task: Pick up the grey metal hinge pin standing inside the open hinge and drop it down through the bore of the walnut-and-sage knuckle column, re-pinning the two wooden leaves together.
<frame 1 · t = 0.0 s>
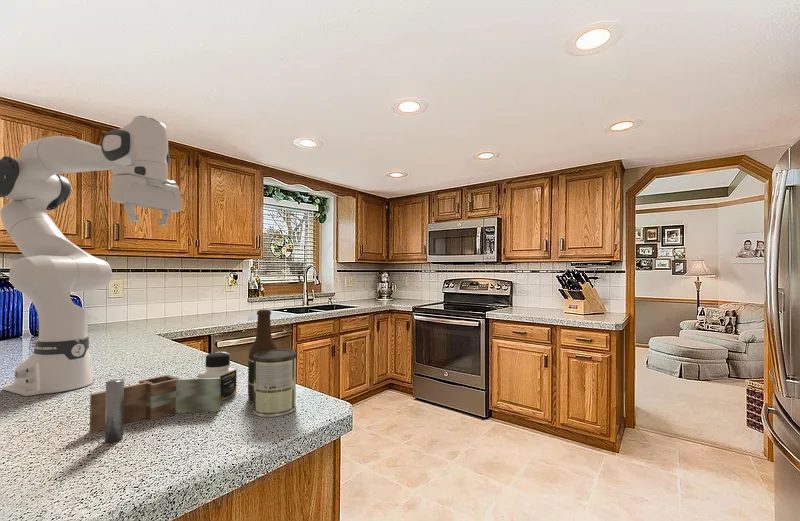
hand: (148, 223, 110), 48 cm above the countertop, fingers open, 8 cm apart
coffee can: (274, 410, 98), on the countertop
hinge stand: (159, 412, 96), on the countertop
medicine bottle: (217, 397, 108), on the countertop
hinge pin: (113, 440, 80), on the countertop
beer bottle: (263, 399, 107), on the countertop
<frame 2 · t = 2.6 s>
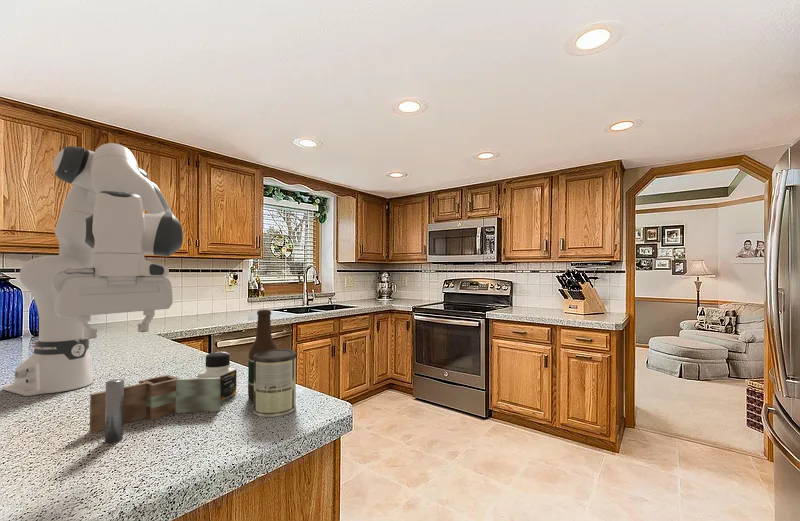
hand: (118, 335, 81), 21 cm above the countertop, fingers open, 8 cm apart
nothing on the countertop moved.
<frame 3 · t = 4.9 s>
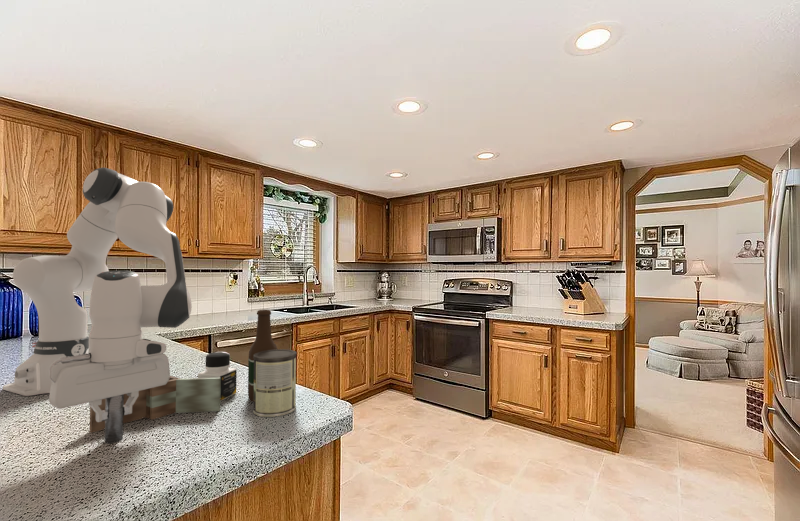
hand: (114, 417, 80), 5 cm above the countertop, fingers closed on hinge pin, 3 cm apart
hinge pin: (113, 440, 80), on the countertop, touching gripper
everything else where it was.
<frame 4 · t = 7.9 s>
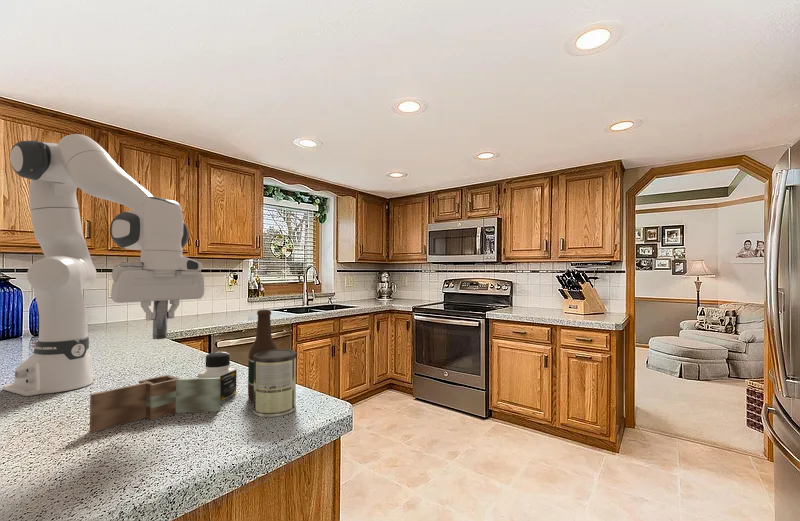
hand: (160, 319, 96), 23 cm above the countertop, fingers closed on hinge pin, 3 cm apart
hinge pin: (159, 338, 96), point 18 cm above the countertop, touching gripper
everything else where it was.
when the fingers open (10 cm above the countertop, at t = 11.4 s): hinge pin drops 5 cm, resting in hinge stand.
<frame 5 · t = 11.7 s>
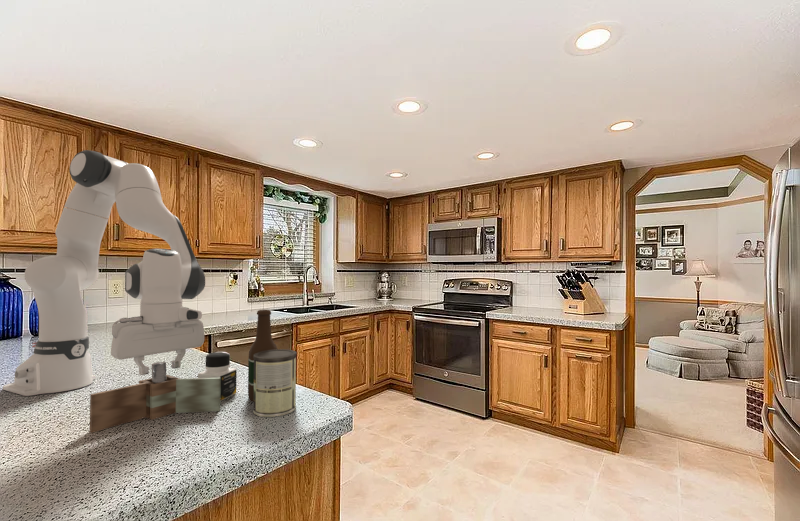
hand: (160, 371, 96), 10 cm above the countertop, fingers open, 6 cm apart
hinge pin: (160, 412, 96), resting in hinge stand
everything else where it was.
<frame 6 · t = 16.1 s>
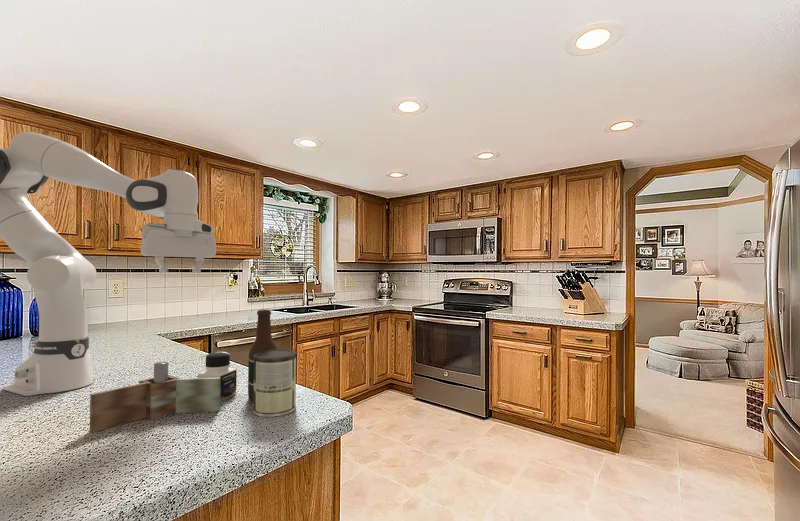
hand: (180, 272, 115), 34 cm above the countertop, fingers open, 8 cm apart
nothing on the countertop moved.
at the end: hinge pin 0.1 cm from the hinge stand (horizontally); hinge pin resting in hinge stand; hinge pin tilted 0° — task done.
